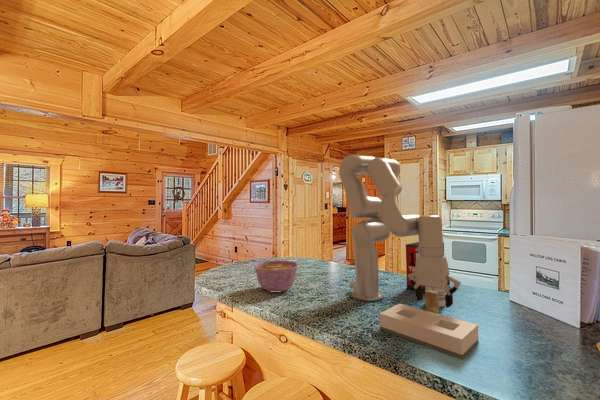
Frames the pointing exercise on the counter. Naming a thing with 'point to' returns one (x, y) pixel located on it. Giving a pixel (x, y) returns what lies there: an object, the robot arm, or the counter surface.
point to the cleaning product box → (412, 262)
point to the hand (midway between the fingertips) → (433, 303)
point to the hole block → (431, 329)
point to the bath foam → (440, 295)
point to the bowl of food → (276, 274)
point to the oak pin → (432, 301)
